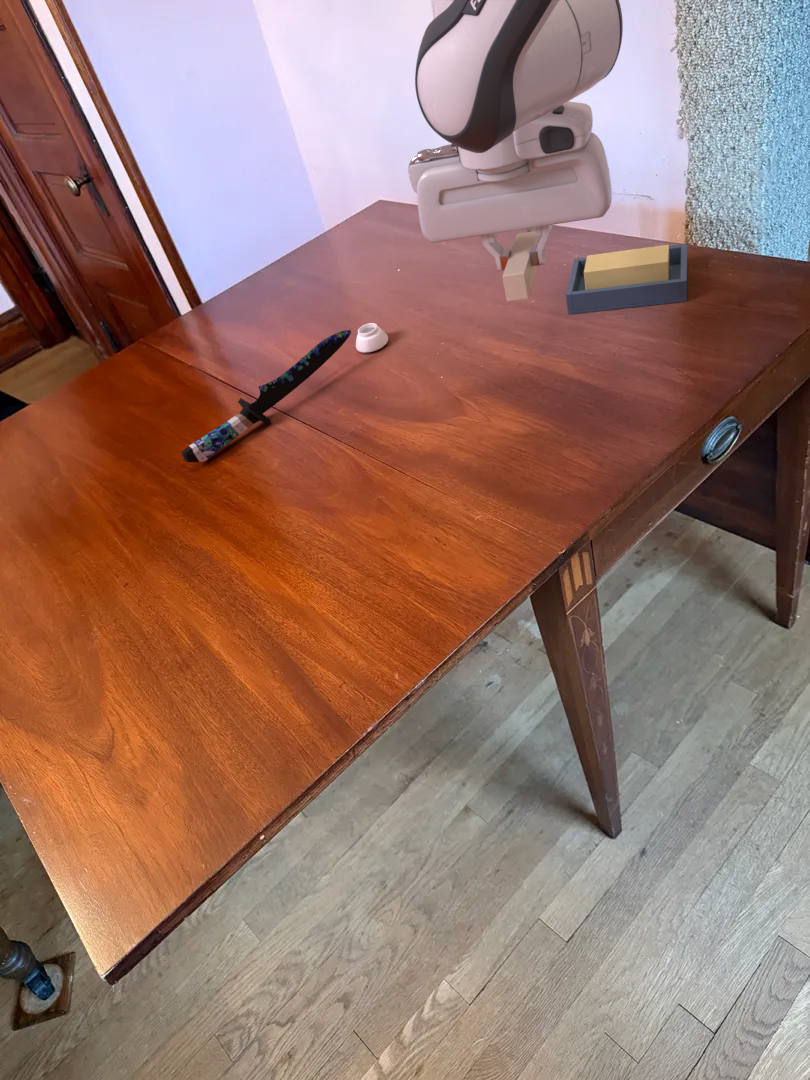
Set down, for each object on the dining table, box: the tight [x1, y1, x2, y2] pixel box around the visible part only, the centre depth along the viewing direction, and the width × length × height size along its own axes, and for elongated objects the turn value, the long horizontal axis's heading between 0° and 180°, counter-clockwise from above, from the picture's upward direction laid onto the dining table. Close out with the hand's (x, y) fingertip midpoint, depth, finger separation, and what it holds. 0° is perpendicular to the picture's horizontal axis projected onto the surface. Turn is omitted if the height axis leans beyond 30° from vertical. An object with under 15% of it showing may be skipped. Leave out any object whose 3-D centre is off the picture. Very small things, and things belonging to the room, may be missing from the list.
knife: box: [180, 329, 352, 463], centre depth 105 cm, size 31×3×4 cm, turn 126°
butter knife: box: [502, 227, 540, 302], centre depth 88 cm, size 23×2×3 cm, turn 164°
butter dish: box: [565, 243, 688, 315], centre depth 105 cm, size 16×11×3 cm
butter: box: [584, 244, 670, 290], centre depth 104 cm, size 11×5×4 cm, turn 74°
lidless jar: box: [355, 322, 389, 353], centre depth 113 cm, size 5×3×5 cm
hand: (522, 265), depth 84 cm, fingers closed on butter knife, 2 cm apart
